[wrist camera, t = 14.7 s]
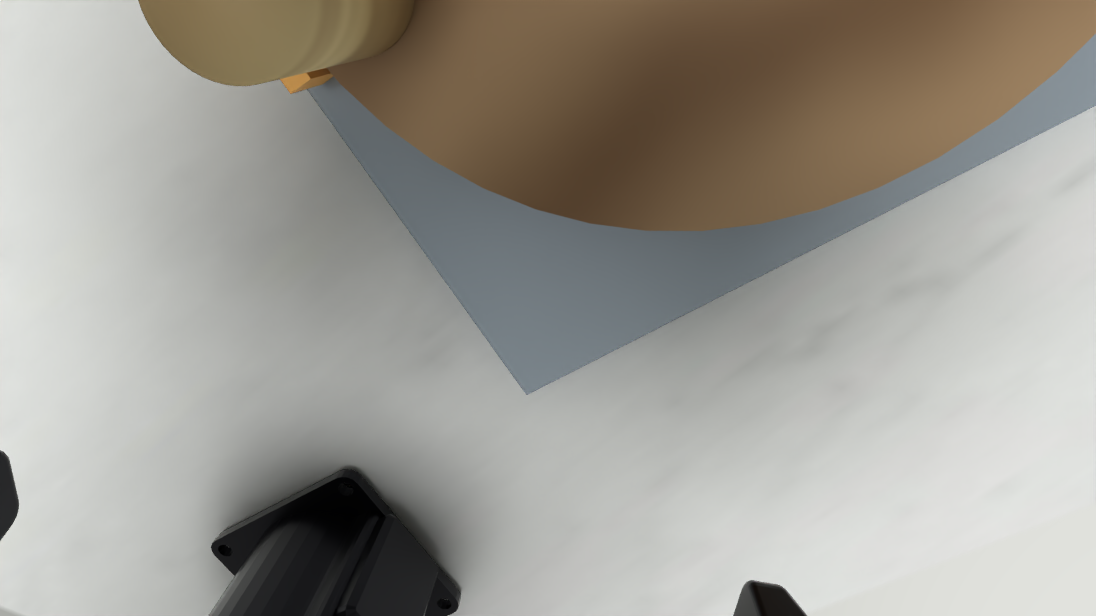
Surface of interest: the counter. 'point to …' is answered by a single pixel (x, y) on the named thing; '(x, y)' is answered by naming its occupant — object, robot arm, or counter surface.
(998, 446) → the counter surface
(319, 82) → the base plate
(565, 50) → the cam dial
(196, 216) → the counter surface
